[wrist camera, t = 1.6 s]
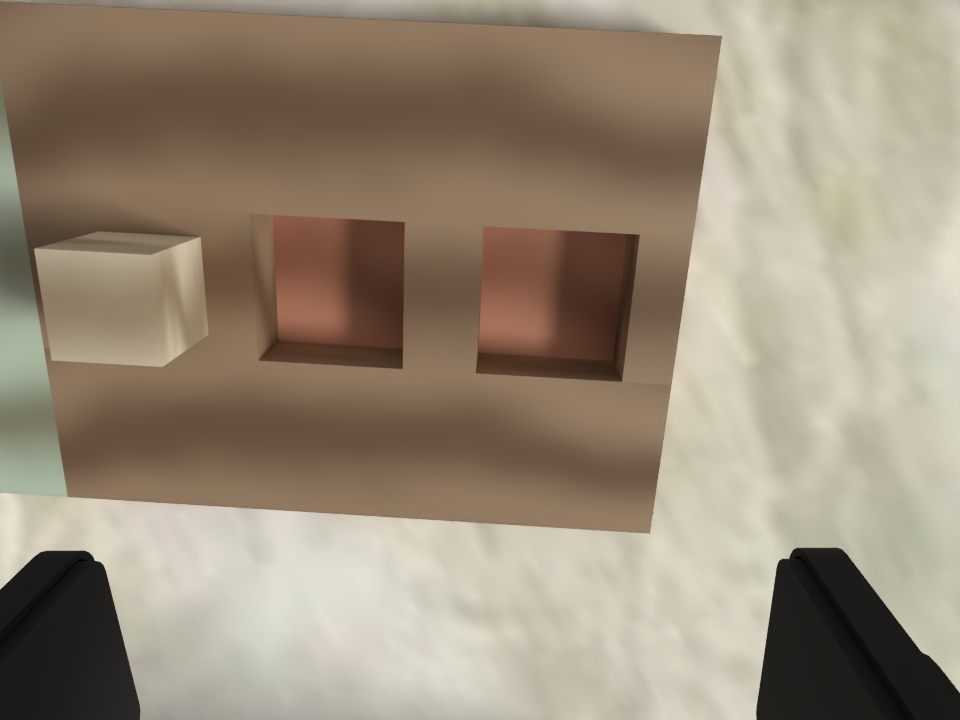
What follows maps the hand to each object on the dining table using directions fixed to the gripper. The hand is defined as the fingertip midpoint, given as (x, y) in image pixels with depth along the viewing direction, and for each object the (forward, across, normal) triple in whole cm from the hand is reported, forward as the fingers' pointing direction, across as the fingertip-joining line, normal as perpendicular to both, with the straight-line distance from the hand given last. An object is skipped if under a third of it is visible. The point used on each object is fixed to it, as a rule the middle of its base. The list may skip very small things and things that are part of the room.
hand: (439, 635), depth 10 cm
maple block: (+19, +13, 0) cm, 23 cm away
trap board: (+22, +9, 0) cm, 24 cm away
